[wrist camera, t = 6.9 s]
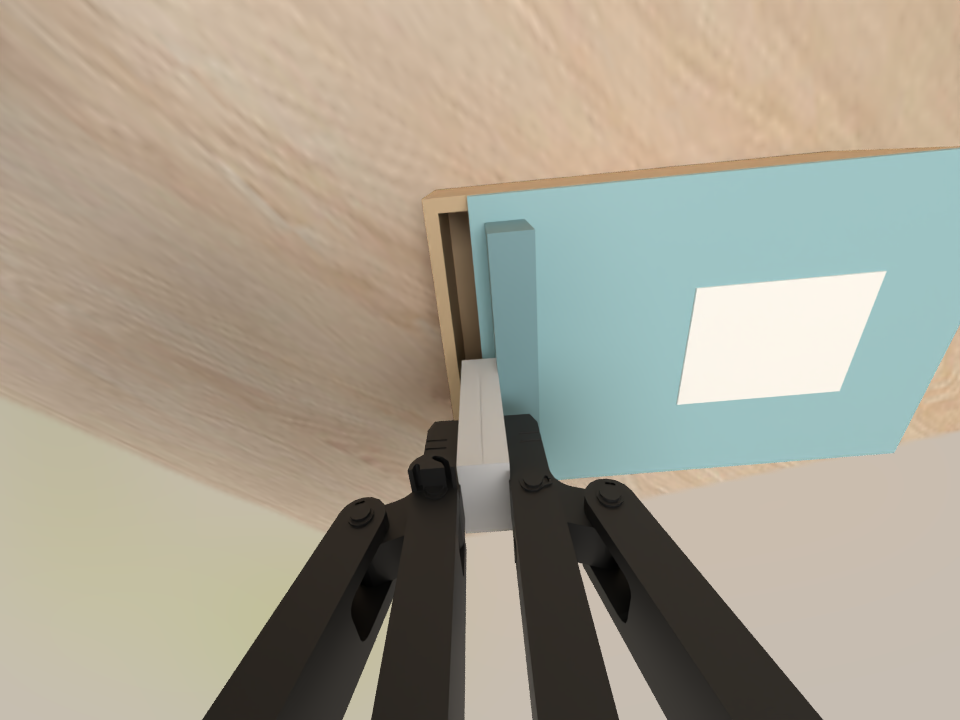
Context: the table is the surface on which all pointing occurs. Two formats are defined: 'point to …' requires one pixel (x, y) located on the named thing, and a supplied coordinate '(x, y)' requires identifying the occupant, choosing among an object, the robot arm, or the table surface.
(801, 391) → the lid
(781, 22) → the table surface
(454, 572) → the robot arm
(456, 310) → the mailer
